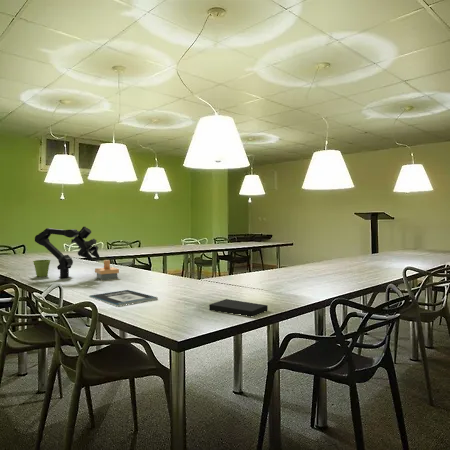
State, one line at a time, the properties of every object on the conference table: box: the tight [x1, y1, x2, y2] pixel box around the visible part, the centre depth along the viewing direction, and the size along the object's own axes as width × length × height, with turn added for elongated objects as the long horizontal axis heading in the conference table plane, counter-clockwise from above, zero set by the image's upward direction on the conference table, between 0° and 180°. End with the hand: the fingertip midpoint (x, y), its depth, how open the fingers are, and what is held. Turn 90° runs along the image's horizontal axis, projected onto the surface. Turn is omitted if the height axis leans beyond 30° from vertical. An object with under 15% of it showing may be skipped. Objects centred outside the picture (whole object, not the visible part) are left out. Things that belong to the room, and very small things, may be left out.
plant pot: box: [32, 259, 52, 278], centre depth 281 cm, size 12×12×11 cm
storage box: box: [96, 273, 118, 281], centre depth 269 cm, size 11×11×6 cm
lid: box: [94, 259, 120, 274], centre depth 268 cm, size 13×13×8 cm
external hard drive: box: [208, 298, 269, 317], centre depth 181 cm, size 14×23×3 cm, turn 55°
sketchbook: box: [89, 289, 159, 307], centre depth 207 cm, size 23×32×2 cm
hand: (96, 259), depth 270 cm, fingers open, 9 cm apart
